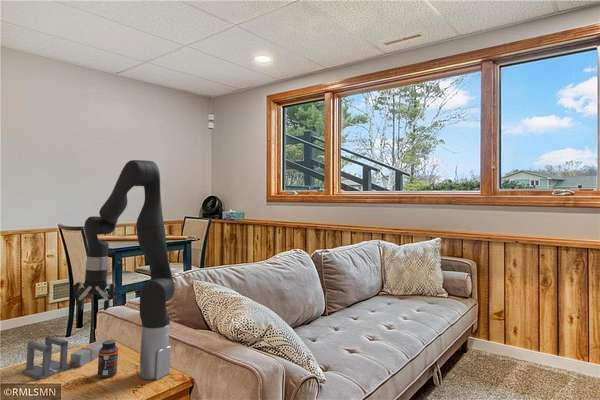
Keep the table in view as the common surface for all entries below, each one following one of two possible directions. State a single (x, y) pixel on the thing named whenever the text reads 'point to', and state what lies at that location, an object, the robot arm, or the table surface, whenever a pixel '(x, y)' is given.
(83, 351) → the grey rectangular bar
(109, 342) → the supplement bottle
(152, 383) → the table surface
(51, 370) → the collar stand
